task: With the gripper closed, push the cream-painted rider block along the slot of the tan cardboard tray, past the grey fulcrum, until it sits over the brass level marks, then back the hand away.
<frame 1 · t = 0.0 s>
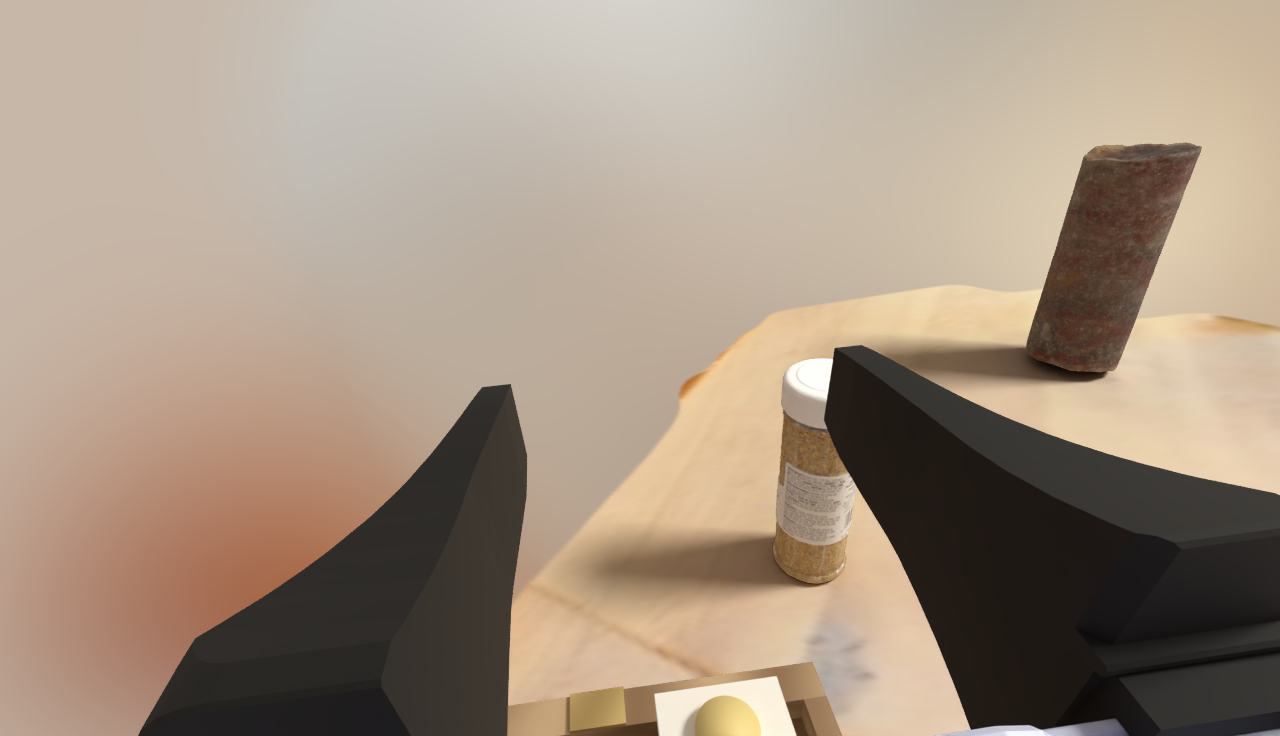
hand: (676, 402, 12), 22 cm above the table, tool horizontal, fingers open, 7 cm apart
sprinkles bottle: (808, 560, 36), on the table
candle: (1066, 365, 54), on the table
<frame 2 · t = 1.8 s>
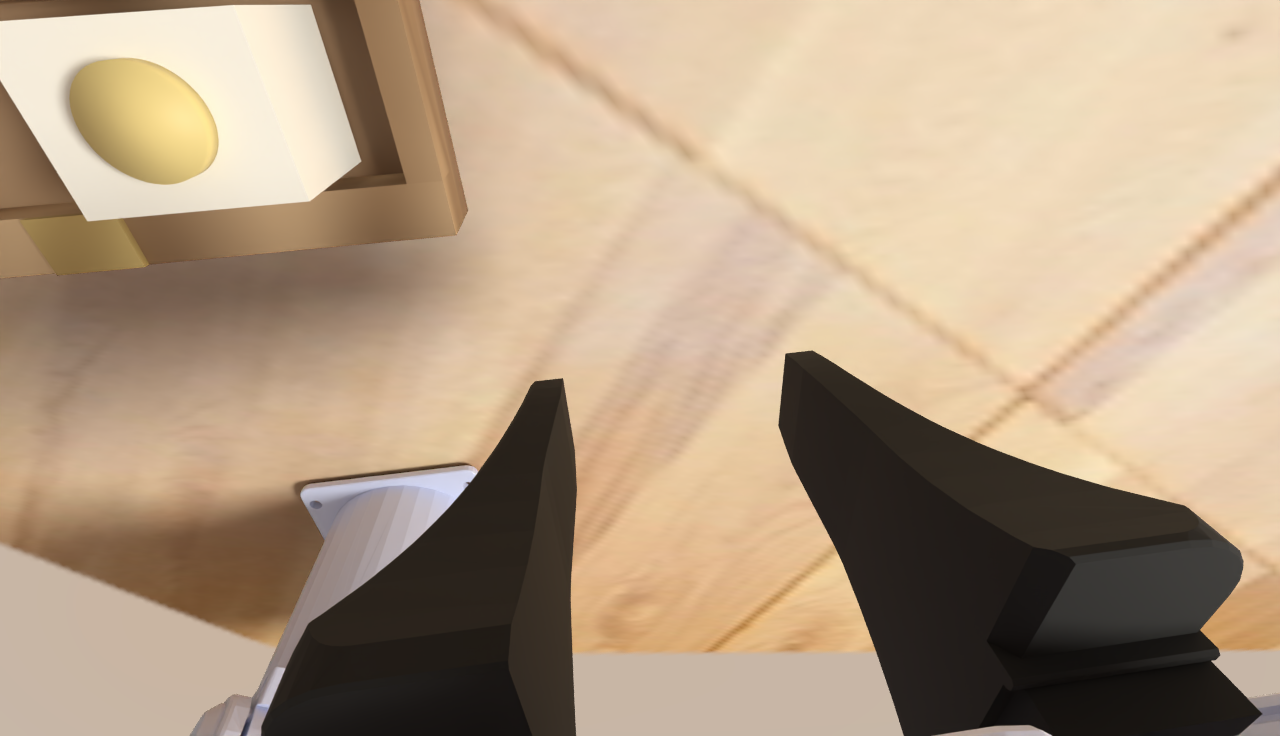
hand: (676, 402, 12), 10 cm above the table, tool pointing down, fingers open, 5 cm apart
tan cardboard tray: (195, 92, 17), on the table
rider: (199, 108, 13), point 5 cm above the table, slide at 0.0 cm
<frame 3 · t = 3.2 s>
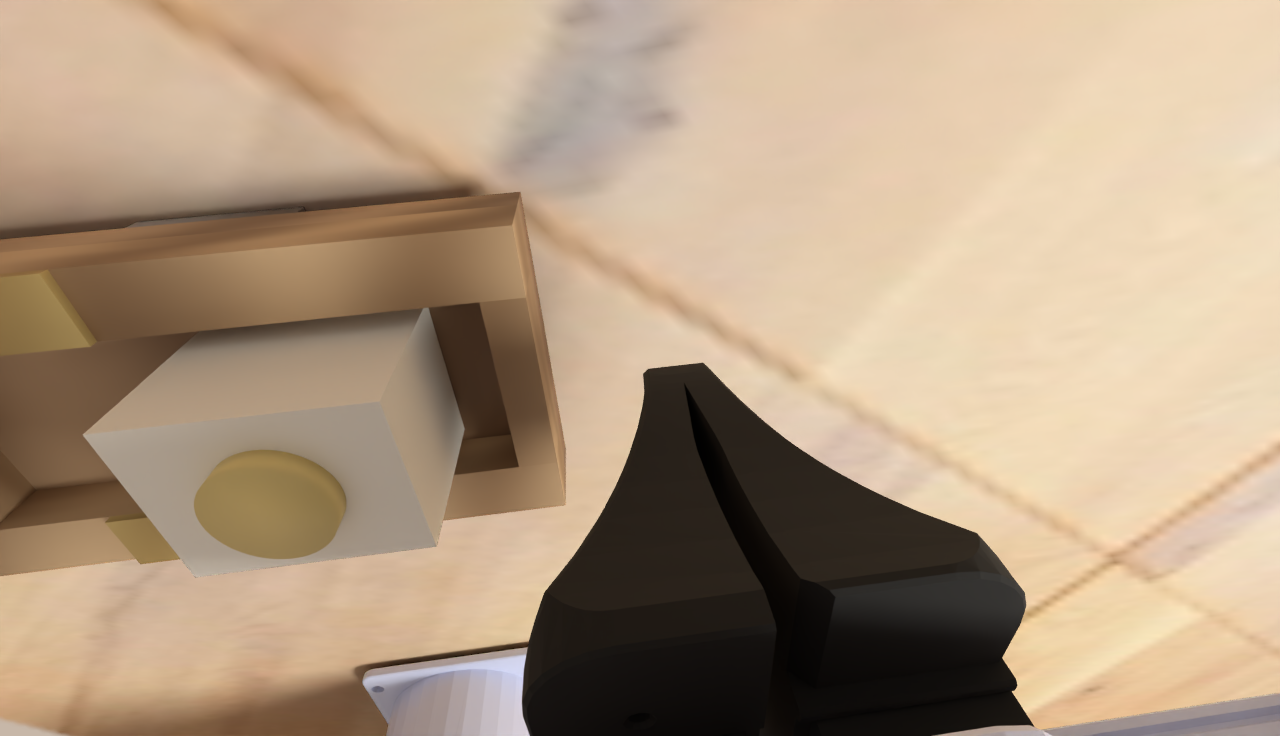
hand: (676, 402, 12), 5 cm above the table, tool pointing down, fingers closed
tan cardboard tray: (283, 345, 16), on the table
rider: (313, 438, 12), point 5 cm above the table, slide at 0.0 cm
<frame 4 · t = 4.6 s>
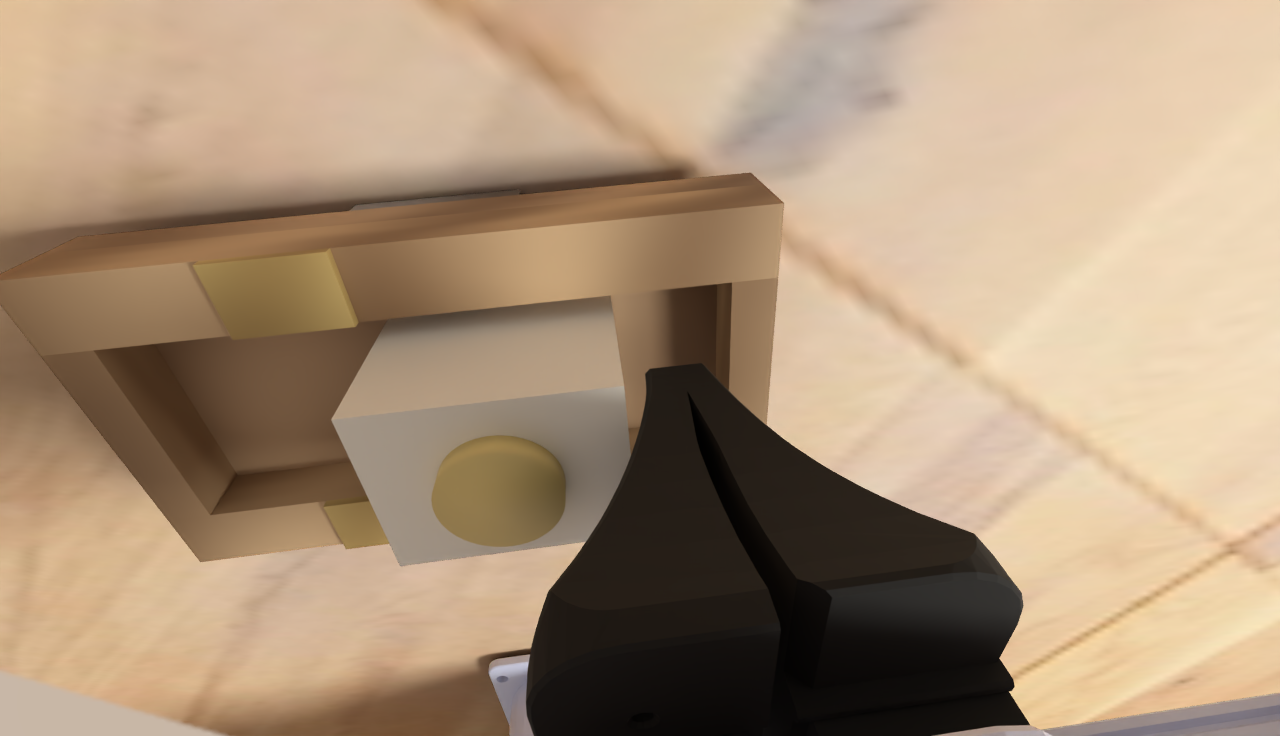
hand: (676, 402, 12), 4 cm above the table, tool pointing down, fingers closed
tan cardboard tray: (473, 331, 16), on the table
rider: (510, 426, 12), point 5 cm above the table, slide at 1.1 cm, touching gripper
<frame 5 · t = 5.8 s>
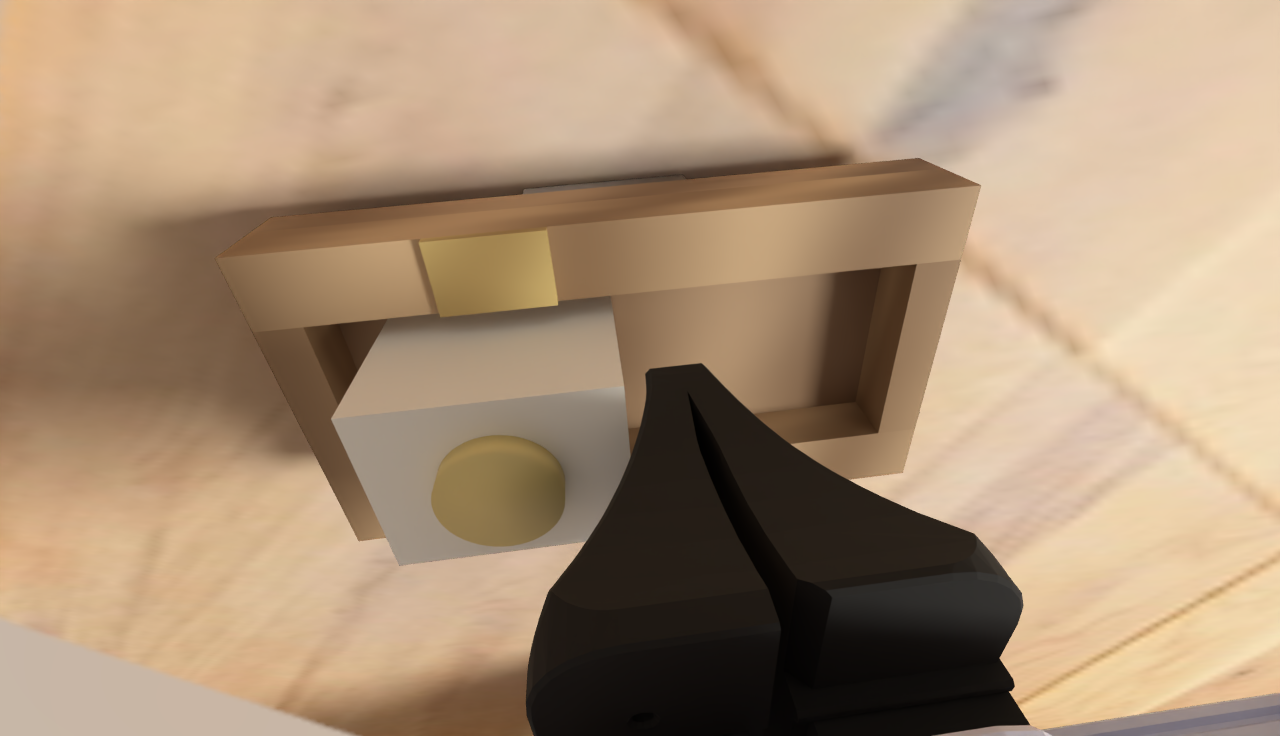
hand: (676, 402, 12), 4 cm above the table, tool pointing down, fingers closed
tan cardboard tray: (616, 315, 16), on the table
rider: (509, 426, 12), point 5 cm above the table, slide at 5.2 cm, touching gripper
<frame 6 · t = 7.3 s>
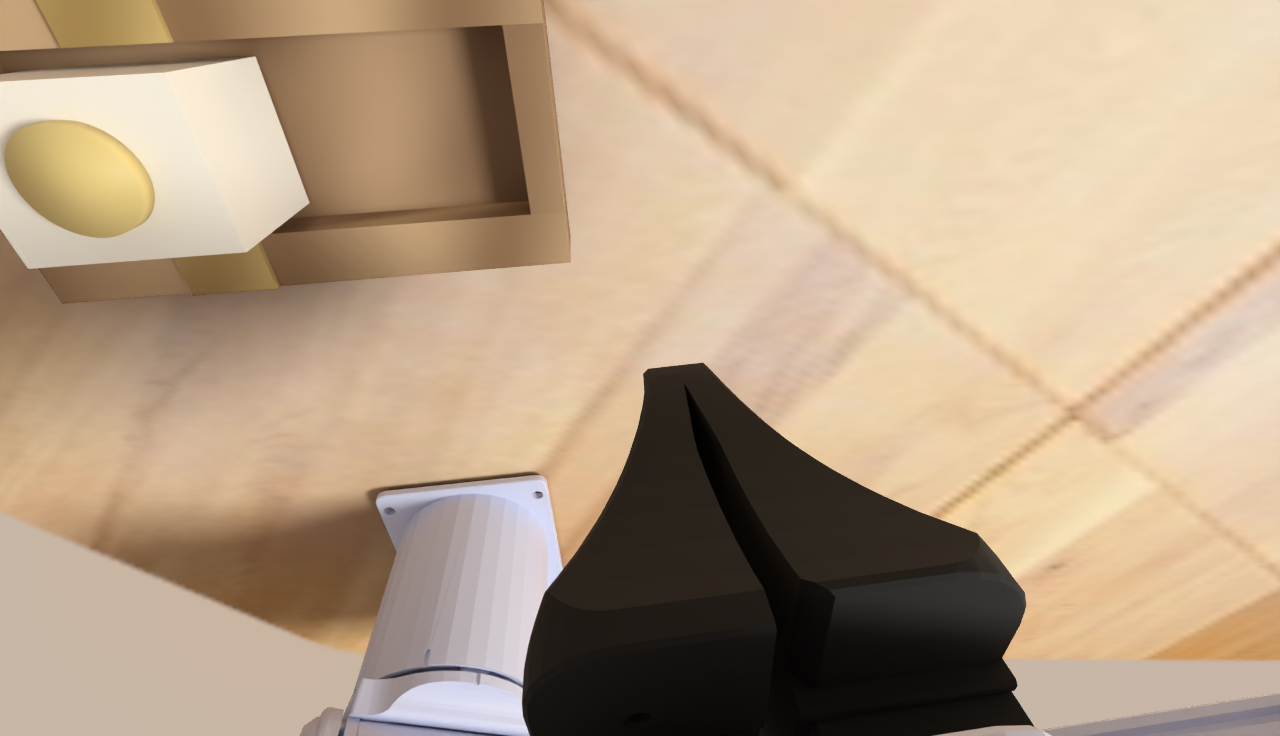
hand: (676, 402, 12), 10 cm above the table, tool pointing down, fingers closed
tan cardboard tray: (320, 119, 18), on the table
rider: (141, 159, 14), point 5 cm above the table, slide at 5.2 cm
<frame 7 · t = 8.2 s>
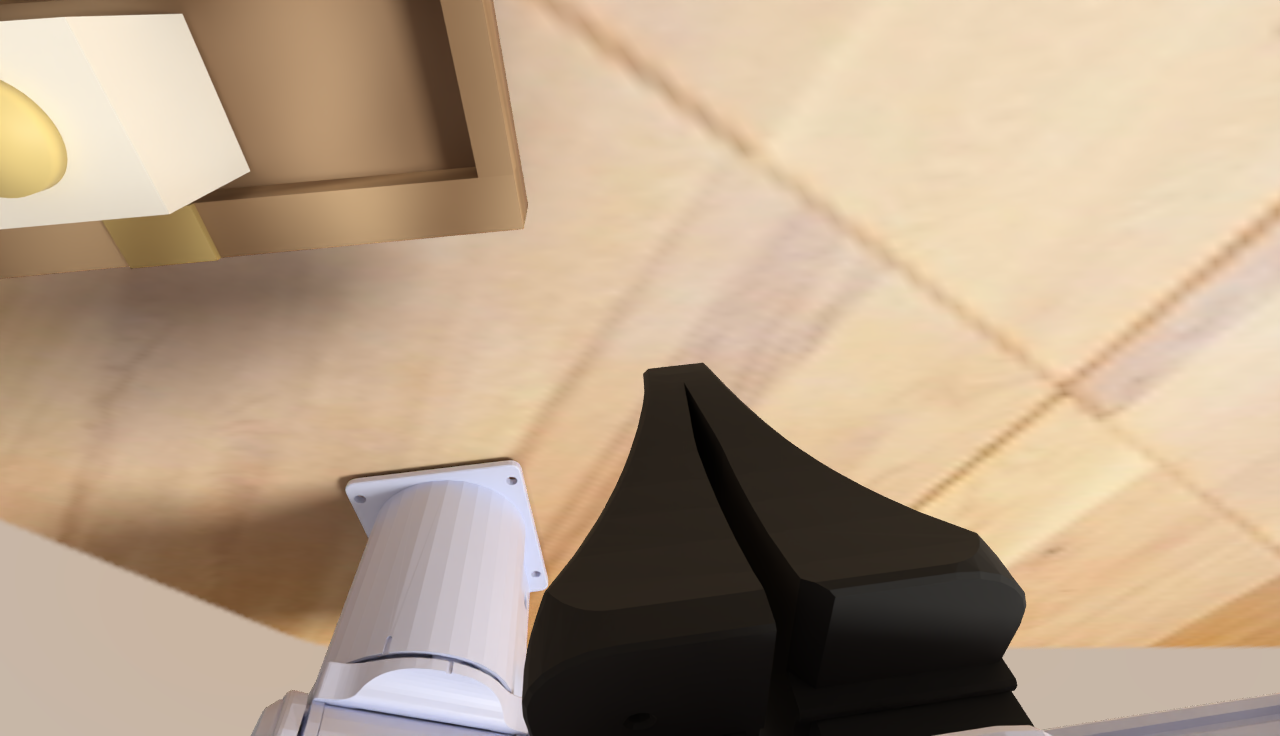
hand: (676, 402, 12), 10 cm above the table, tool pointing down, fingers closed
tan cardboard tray: (263, 87, 17), on the table
rider: (60, 120, 13), point 5 cm above the table, slide at 5.2 cm
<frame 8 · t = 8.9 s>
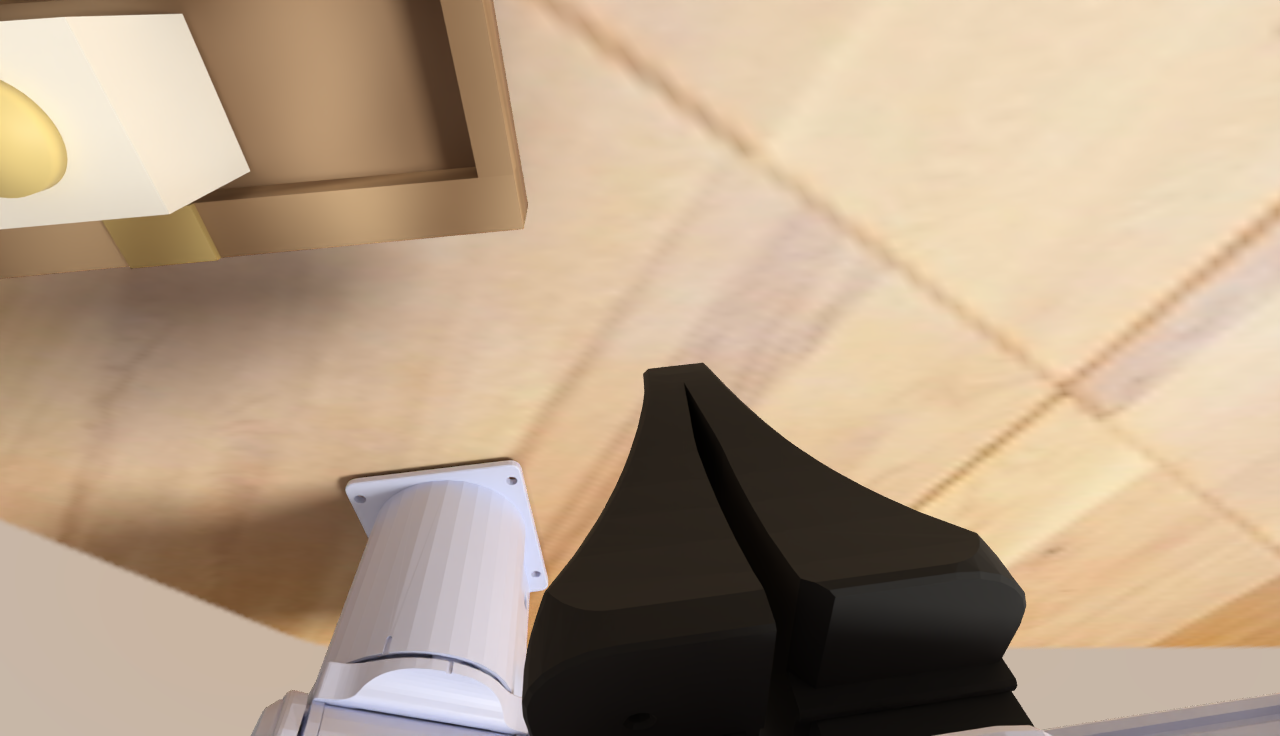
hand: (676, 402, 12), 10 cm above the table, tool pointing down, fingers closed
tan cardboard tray: (263, 87, 17), on the table
rider: (60, 120, 13), point 5 cm above the table, slide at 5.2 cm
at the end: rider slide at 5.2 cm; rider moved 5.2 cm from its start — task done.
